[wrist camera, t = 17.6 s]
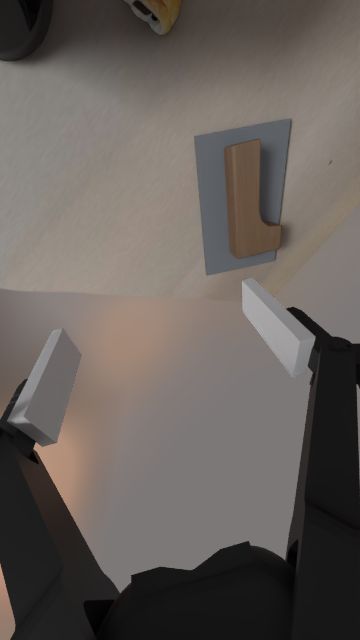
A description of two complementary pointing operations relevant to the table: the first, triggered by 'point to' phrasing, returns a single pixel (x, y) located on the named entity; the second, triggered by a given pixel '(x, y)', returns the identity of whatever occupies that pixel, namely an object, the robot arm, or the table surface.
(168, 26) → the pastry
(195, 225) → the table surface
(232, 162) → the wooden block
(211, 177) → the mat
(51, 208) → the table surface
